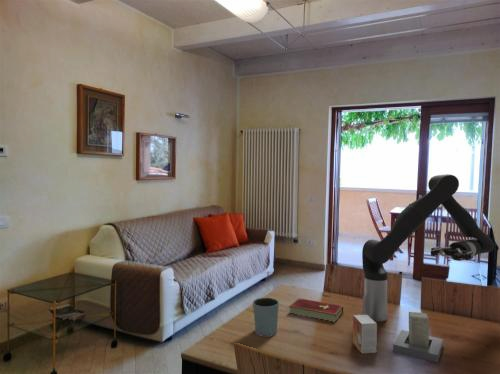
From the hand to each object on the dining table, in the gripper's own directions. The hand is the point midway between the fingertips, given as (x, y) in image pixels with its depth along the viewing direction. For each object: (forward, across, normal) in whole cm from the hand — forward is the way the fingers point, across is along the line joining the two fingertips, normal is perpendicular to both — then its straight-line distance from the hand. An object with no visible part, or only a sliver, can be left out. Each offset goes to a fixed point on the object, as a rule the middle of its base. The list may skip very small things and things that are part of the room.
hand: (443, 255), depth 141 cm
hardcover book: (+26, -42, +31) cm, 58 cm away
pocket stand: (+21, +2, +30) cm, 37 cm away
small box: (+36, -10, +30) cm, 48 cm away
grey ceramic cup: (+56, -41, +30) cm, 75 cm away
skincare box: (+21, +2, +30) cm, 37 cm away
